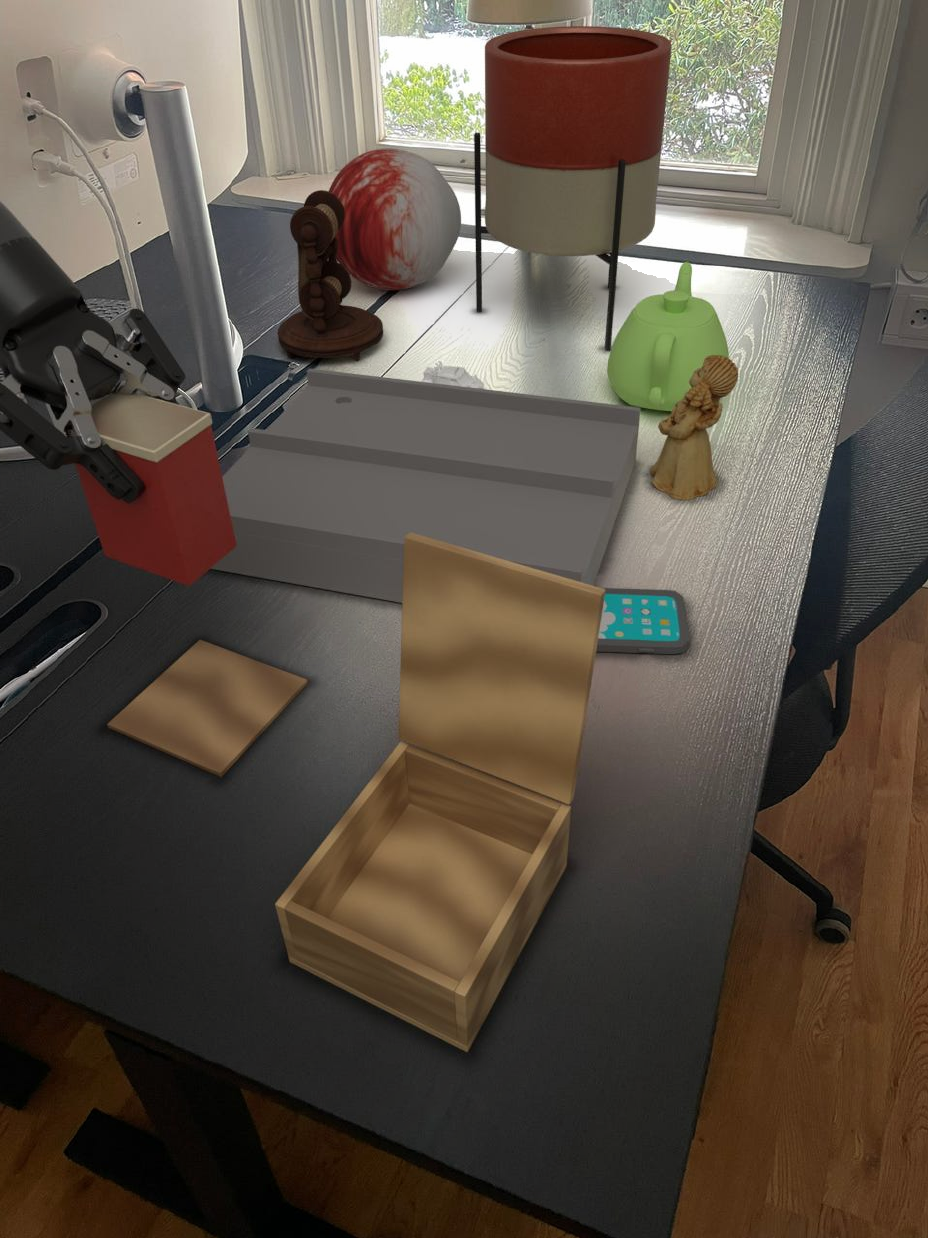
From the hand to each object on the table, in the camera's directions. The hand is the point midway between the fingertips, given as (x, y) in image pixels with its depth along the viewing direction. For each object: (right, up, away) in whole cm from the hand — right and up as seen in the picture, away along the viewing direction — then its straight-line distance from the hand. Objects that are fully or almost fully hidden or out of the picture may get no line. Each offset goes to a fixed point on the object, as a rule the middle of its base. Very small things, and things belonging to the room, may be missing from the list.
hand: (168, 473), depth 67 cm
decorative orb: (+10, +43, +89) cm, 99 cm away
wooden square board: (-1, -17, +17) cm, 24 cm away
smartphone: (+33, -10, +24) cm, 42 cm away
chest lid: (+22, -14, -3) cm, 26 cm away
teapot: (+46, +19, +59) cm, 78 cm away
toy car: (+19, +19, +59) cm, 65 cm away
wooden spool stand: (+2, +29, +72) cm, 78 cm away
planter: (+36, +35, +78) cm, 93 cm away
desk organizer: (+16, +2, +39) cm, 42 cm away
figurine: (+45, +5, +43) cm, 62 cm away
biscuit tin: (-1, -5, +5) cm, 7 cm away
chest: (+18, -30, +1) cm, 35 cm away
